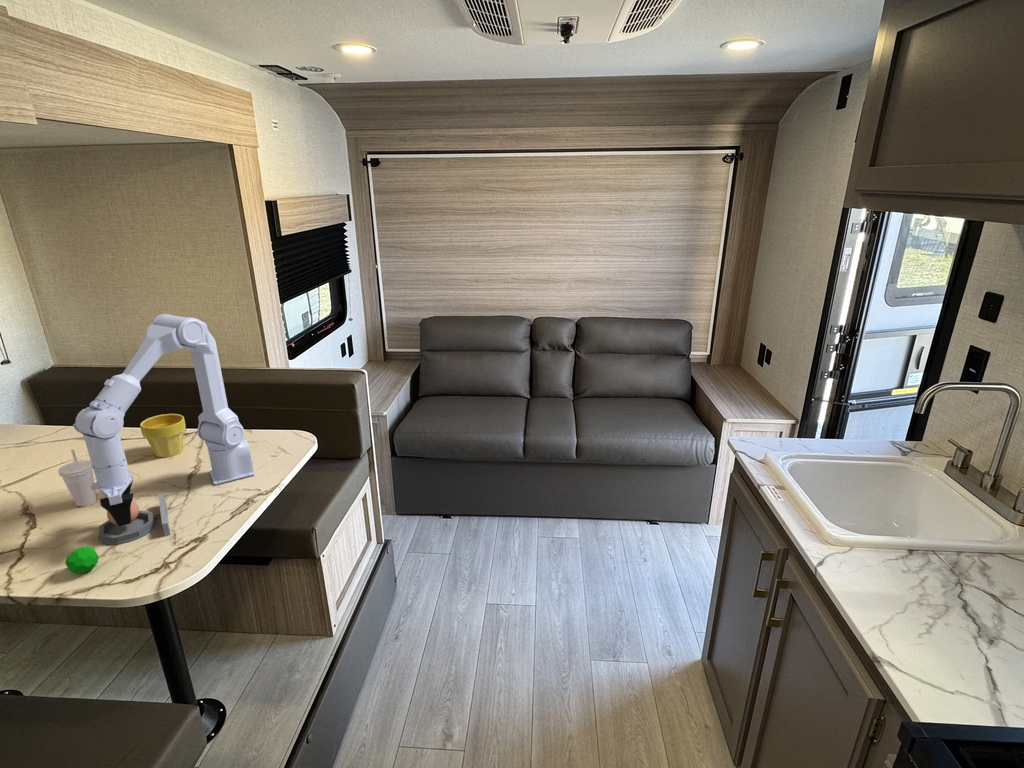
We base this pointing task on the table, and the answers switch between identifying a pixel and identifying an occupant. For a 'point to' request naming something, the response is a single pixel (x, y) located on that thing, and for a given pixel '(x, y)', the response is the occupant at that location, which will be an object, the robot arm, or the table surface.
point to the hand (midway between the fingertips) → (124, 517)
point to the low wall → (164, 515)
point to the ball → (134, 513)
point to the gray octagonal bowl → (127, 529)
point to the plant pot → (164, 434)
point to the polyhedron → (82, 560)
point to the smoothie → (79, 480)
